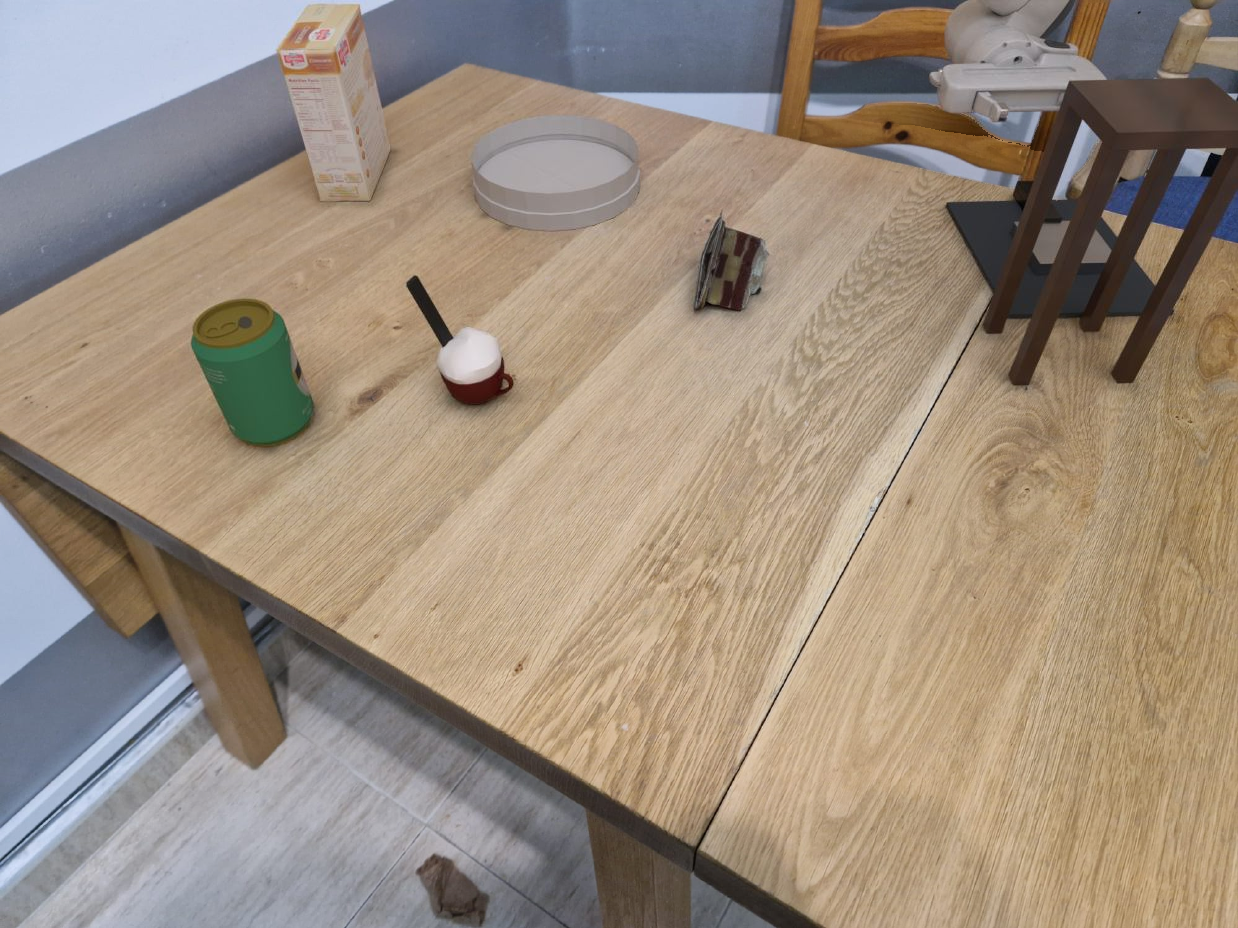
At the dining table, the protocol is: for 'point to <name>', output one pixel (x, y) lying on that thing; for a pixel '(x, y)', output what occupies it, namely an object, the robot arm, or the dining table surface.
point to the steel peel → (1058, 239)
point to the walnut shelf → (1130, 122)
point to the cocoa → (464, 355)
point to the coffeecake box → (336, 100)
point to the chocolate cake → (729, 267)
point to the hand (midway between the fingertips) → (1040, 115)
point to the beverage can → (253, 371)
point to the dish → (555, 172)
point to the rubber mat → (990, 246)
